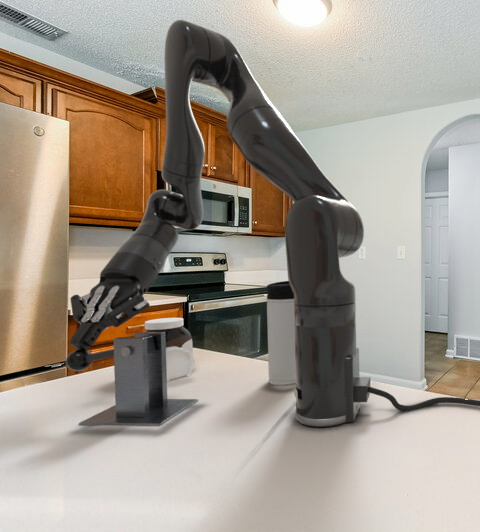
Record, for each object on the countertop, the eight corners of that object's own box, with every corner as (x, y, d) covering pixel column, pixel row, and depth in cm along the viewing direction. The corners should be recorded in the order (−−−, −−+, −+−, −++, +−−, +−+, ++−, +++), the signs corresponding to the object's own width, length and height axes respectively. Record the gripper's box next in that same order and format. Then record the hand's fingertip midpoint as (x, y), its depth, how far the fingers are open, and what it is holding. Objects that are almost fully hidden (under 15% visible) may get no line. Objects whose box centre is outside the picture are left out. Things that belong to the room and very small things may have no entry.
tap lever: (62, 375, 56) (57, 354, 56) (81, 369, 59) (77, 349, 59) (144, 358, 55) (139, 337, 55) (159, 352, 58) (154, 332, 58)
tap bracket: (78, 431, 53) (75, 342, 52) (128, 406, 62) (125, 329, 61) (160, 432, 52) (157, 341, 52) (198, 406, 61) (196, 329, 61)
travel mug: (311, 382, 72) (309, 279, 72) (284, 393, 67) (281, 281, 66) (289, 377, 75) (287, 278, 75) (261, 387, 70) (259, 281, 69)
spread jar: (167, 368, 83) (166, 316, 83) (214, 369, 82) (212, 316, 81) (120, 386, 71) (118, 326, 71) (173, 389, 70) (172, 327, 69)
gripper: (89, 251, 67) (18, 333, 55) (160, 250, 66) (104, 333, 54) (114, 278, 72) (54, 359, 60) (180, 278, 71) (133, 359, 59)
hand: (78, 346), depth 57 cm, fingers closed
